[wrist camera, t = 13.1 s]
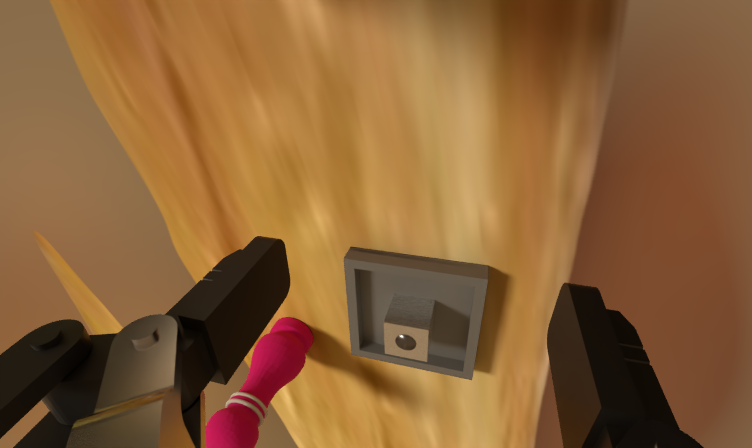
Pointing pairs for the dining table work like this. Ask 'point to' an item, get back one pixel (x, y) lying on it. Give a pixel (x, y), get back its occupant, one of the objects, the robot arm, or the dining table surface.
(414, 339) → the grey dotted cube
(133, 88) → the dining table surface
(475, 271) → the tray
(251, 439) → the pepper mill
